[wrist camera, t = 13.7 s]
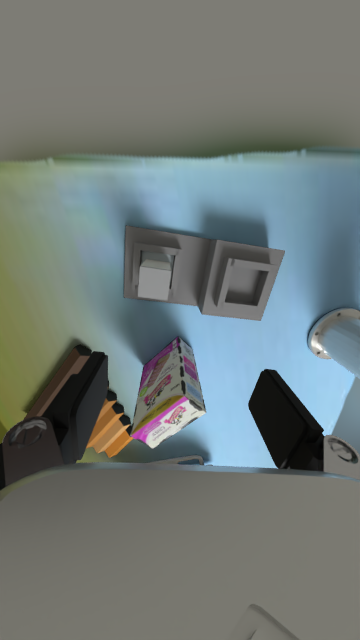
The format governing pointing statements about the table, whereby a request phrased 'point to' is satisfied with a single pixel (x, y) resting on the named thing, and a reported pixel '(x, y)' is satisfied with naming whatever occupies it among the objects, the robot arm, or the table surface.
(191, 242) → the stepped socket base
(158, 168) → the table surface
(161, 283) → the plug
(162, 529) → the robot arm
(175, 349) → the candy bar box
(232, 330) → the table surface
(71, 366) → the pan flute
